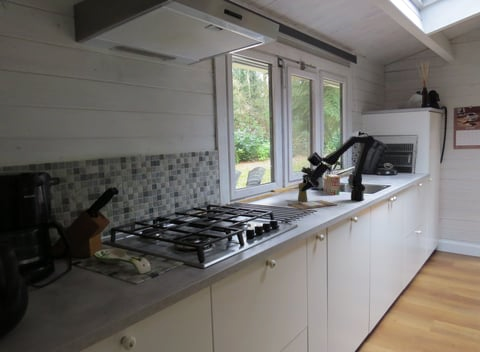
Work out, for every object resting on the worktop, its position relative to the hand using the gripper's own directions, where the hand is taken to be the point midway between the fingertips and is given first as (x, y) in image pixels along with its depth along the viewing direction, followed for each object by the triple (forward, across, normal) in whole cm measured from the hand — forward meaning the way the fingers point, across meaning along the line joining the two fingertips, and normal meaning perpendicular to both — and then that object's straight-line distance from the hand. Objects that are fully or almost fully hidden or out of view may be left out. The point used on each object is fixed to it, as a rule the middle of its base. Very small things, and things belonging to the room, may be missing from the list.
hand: (300, 190), depth 221 cm
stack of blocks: (-16, -31, +26) cm, 43 cm away
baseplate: (+2, +13, +7) cm, 15 cm away
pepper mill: (+4, 0, +6) cm, 7 cm away
